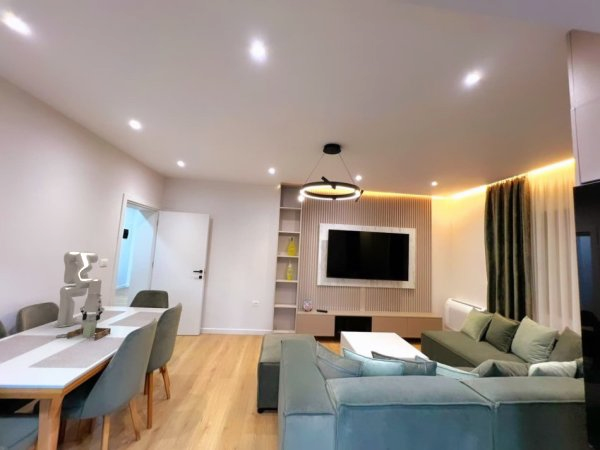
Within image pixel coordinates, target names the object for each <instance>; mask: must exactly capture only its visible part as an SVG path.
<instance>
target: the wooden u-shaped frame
mask: <svg viewBox="0 0 600 450" xmlns="http://www.w3.org/2000/svg"><path fill="white" fill-rule="evenodd" d="M83 330H84V327H82V328H81V327H79V328H77V329H74V330H72V331H68V332H67V333H66V334H67V337H66V340H69V339H71V338H74V337H76V336H79V335H81V334H82V335H83ZM111 332H112V330H111V328H110V327H108V328H107V327H96V328H95V333H96V334H95V336H93V340H94V341H97V340H100V339H102V338H104V337H107V336H109V335H111ZM108 334H109V335H108Z"/></svg>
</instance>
